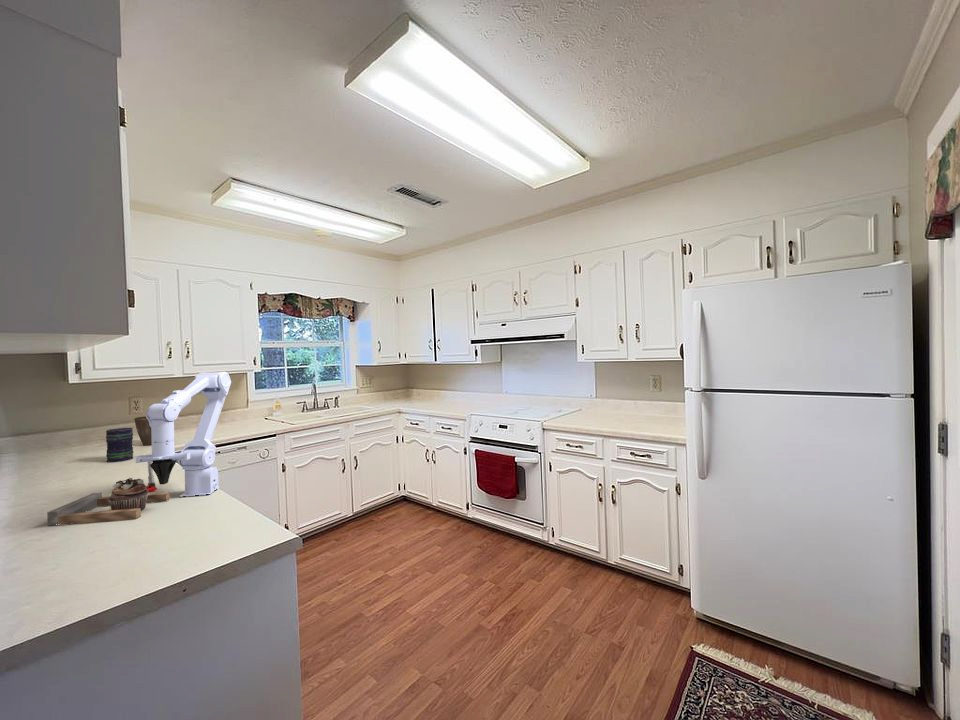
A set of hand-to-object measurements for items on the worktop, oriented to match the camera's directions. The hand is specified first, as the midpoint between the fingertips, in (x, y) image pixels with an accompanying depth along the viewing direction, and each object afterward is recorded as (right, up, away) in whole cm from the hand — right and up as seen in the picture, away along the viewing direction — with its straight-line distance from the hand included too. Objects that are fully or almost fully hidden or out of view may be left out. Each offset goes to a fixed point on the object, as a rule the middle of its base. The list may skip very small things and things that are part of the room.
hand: (164, 483), depth 128 cm
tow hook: (-22, -9, +16) cm, 29 cm away
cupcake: (-10, -8, -2) cm, 13 cm away
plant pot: (-90, -10, +106) cm, 139 cm away
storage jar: (-75, -10, +68) cm, 102 cm away
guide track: (-14, -8, -2) cm, 16 cm away
